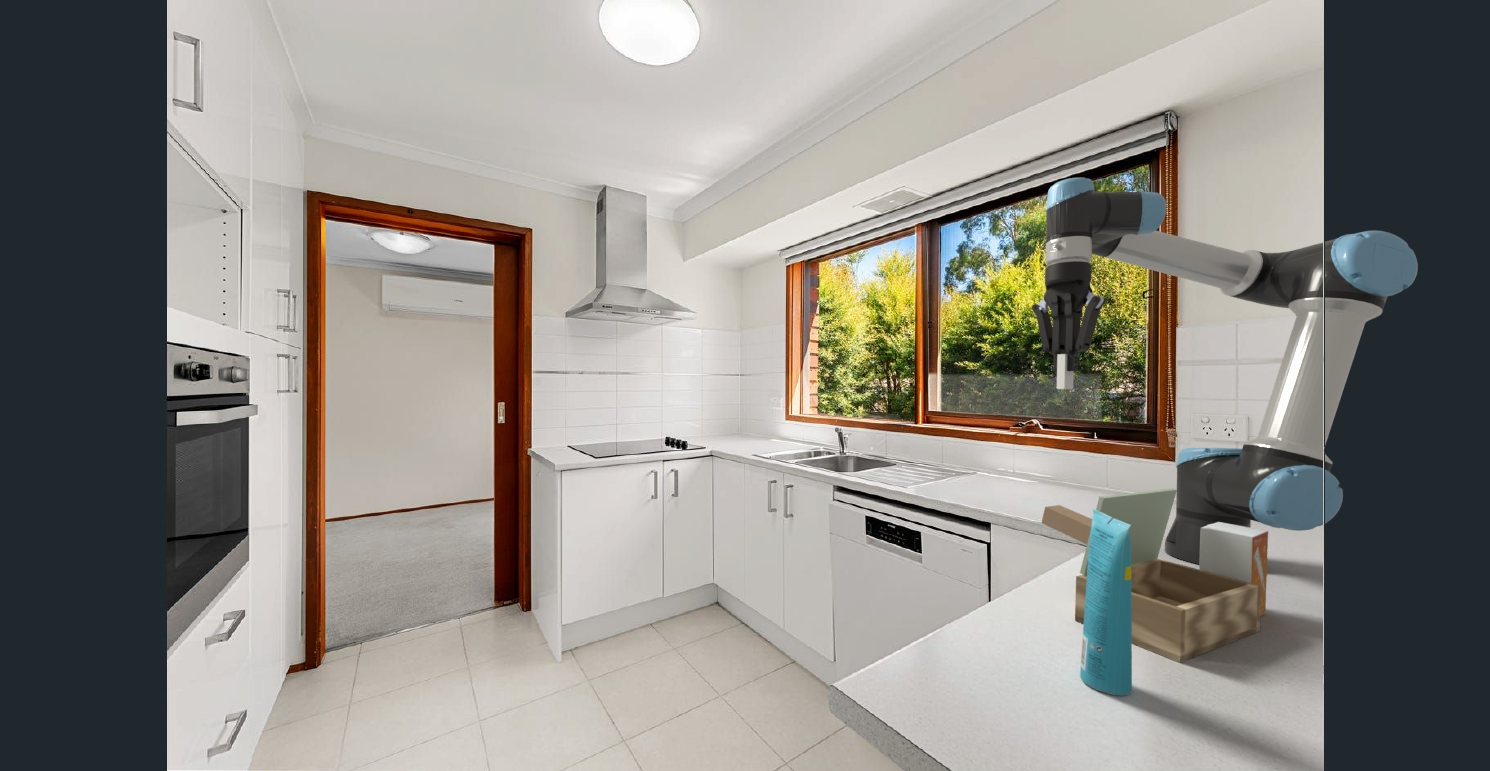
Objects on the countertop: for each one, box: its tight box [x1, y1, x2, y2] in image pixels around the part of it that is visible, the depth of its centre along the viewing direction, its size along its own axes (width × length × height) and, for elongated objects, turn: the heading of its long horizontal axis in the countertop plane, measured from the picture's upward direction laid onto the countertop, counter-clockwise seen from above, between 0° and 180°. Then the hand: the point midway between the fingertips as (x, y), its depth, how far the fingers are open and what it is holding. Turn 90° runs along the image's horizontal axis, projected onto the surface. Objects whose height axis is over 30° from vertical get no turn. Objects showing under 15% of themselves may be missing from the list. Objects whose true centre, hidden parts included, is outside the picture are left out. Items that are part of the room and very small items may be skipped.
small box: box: [1198, 522, 1269, 617], centre depth 83 cm, size 8×6×13 cm
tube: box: [1079, 508, 1133, 696], centre depth 61 cm, size 7×5×19 cm, turn 178°
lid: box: [1041, 488, 1177, 575], centre depth 87 cm, size 20×12×13 cm
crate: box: [1074, 558, 1261, 664], centre depth 77 cm, size 22×13×6 cm, turn 117°
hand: (1064, 388), depth 100 cm, fingers closed
